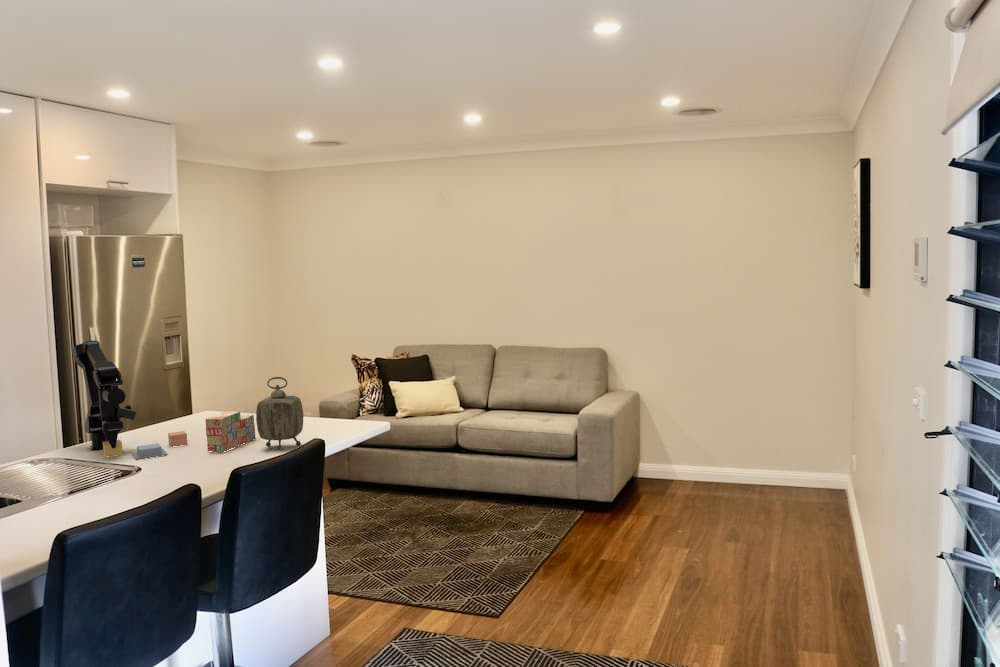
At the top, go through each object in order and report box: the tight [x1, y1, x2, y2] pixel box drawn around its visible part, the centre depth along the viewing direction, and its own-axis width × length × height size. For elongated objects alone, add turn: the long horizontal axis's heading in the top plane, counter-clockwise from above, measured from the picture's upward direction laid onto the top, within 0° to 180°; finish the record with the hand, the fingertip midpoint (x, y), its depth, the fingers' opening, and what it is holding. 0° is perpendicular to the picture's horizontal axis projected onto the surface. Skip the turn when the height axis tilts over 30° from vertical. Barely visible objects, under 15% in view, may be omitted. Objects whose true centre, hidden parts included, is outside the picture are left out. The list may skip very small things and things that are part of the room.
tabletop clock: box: [255, 376, 304, 450], centre depth 291 cm, size 14×9×25 cm, turn 89°
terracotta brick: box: [167, 430, 188, 448], centre depth 303 cm, size 6×6×4 cm
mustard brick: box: [102, 439, 124, 458], centre depth 292 cm, size 6×6×4 cm
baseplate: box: [131, 443, 168, 461], centre depth 289 cm, size 10×10×3 cm
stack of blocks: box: [205, 411, 256, 452], centre depth 298 cm, size 21×6×12 cm, turn 166°
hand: (112, 445), depth 292 cm, fingers open, 9 cm apart
